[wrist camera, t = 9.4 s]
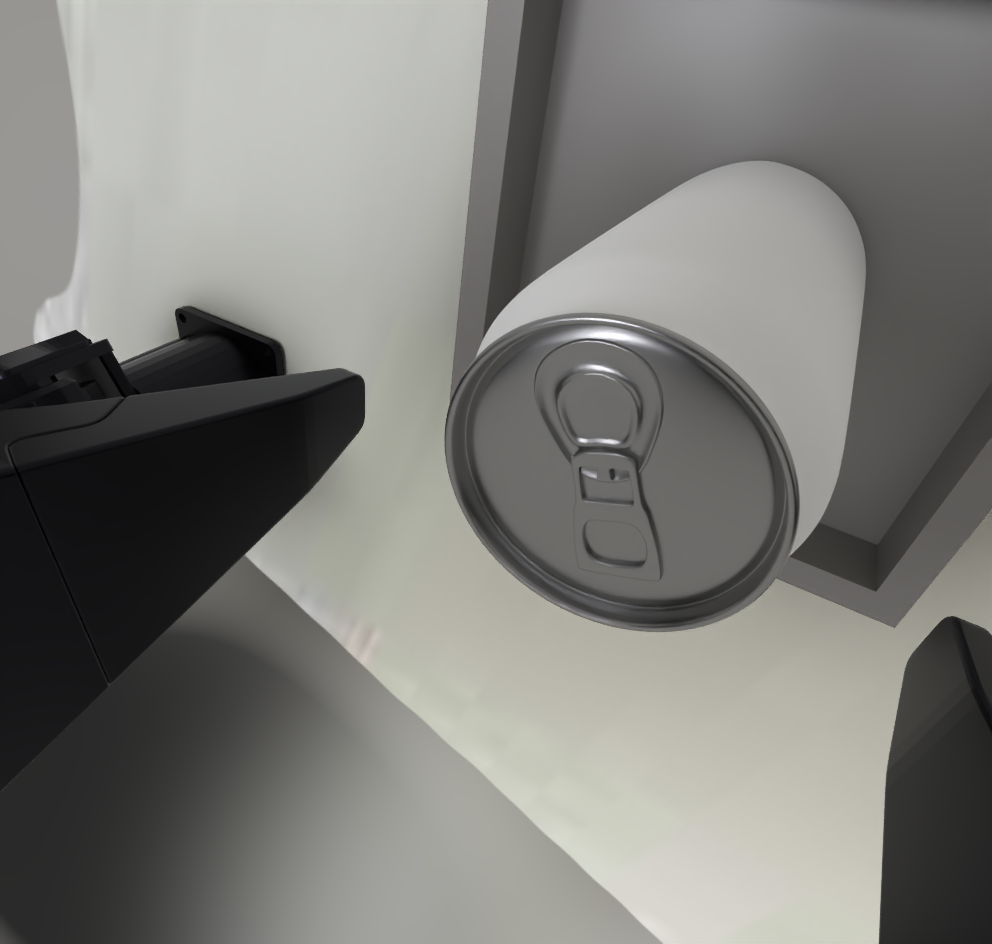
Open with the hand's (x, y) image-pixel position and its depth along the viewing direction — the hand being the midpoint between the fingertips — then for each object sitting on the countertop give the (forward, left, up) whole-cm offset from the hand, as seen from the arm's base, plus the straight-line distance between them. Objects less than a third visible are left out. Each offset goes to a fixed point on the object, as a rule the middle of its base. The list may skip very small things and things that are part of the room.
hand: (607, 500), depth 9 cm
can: (0, 0, -12) cm, 12 cm away
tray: (0, 0, -13) cm, 13 cm away
